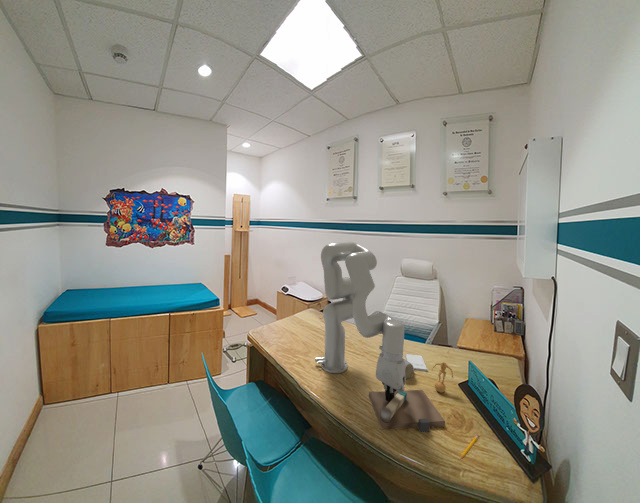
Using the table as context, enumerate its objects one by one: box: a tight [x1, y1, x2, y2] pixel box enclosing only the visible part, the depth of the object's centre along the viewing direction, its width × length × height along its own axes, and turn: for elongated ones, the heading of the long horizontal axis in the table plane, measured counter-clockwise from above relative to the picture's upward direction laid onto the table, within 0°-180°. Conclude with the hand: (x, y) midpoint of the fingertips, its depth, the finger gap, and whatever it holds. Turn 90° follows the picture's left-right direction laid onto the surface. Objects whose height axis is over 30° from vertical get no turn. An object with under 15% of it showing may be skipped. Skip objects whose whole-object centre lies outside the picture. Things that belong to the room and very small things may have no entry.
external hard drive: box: [405, 353, 428, 372], centre depth 123 cm, size 2×8×12 cm
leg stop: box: [417, 419, 431, 433], centre depth 83 cm, size 3×2×4 cm, turn 94°
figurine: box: [431, 361, 454, 393], centre depth 103 cm, size 8×6×12 cm
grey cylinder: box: [403, 358, 414, 380], centre depth 114 cm, size 11×8×8 cm
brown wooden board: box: [368, 389, 446, 430], centre depth 92 cm, size 22×16×2 cm
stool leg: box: [381, 391, 407, 422], centre depth 90 cm, size 16×3×3 cm, turn 138°
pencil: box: [459, 434, 480, 460], centre depth 77 cm, size 1×13×1 cm, turn 129°
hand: (389, 399), depth 94 cm, fingers closed
